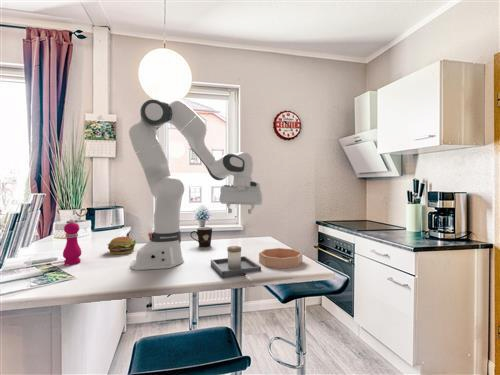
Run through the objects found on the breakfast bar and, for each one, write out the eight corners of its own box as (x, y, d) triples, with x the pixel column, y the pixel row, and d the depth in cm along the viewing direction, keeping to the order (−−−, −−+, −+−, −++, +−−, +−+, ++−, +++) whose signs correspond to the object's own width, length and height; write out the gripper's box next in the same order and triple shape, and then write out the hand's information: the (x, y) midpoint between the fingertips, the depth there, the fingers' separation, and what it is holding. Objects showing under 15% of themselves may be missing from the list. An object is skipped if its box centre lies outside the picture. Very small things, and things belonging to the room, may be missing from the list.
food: (103, 256, 145) (103, 240, 145) (111, 250, 159) (110, 235, 159) (133, 254, 148) (133, 239, 148) (138, 248, 162) (137, 234, 162)
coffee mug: (213, 244, 171) (213, 227, 170) (210, 247, 162) (210, 229, 162) (194, 244, 172) (194, 227, 172) (190, 247, 163) (189, 229, 163)
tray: (222, 278, 111) (222, 271, 111) (210, 265, 128) (210, 259, 128) (261, 273, 117) (260, 266, 117) (245, 261, 134) (245, 256, 134)
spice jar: (229, 269, 119) (229, 249, 119) (225, 265, 124) (225, 246, 124) (243, 267, 121) (243, 248, 121) (238, 264, 126) (238, 245, 126)
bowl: (271, 272, 118) (271, 260, 118) (254, 261, 134) (254, 250, 134) (308, 267, 124) (308, 255, 124) (288, 257, 141) (288, 247, 141)
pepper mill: (59, 264, 131) (58, 220, 130) (73, 260, 138) (73, 218, 137) (71, 266, 128) (70, 220, 128) (85, 261, 135) (84, 218, 135)
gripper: (219, 182, 140) (216, 210, 135) (262, 183, 137) (260, 212, 133) (222, 186, 146) (219, 214, 141) (263, 188, 143) (261, 215, 138)
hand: (239, 213), depth 137 cm, fingers open, 8 cm apart
